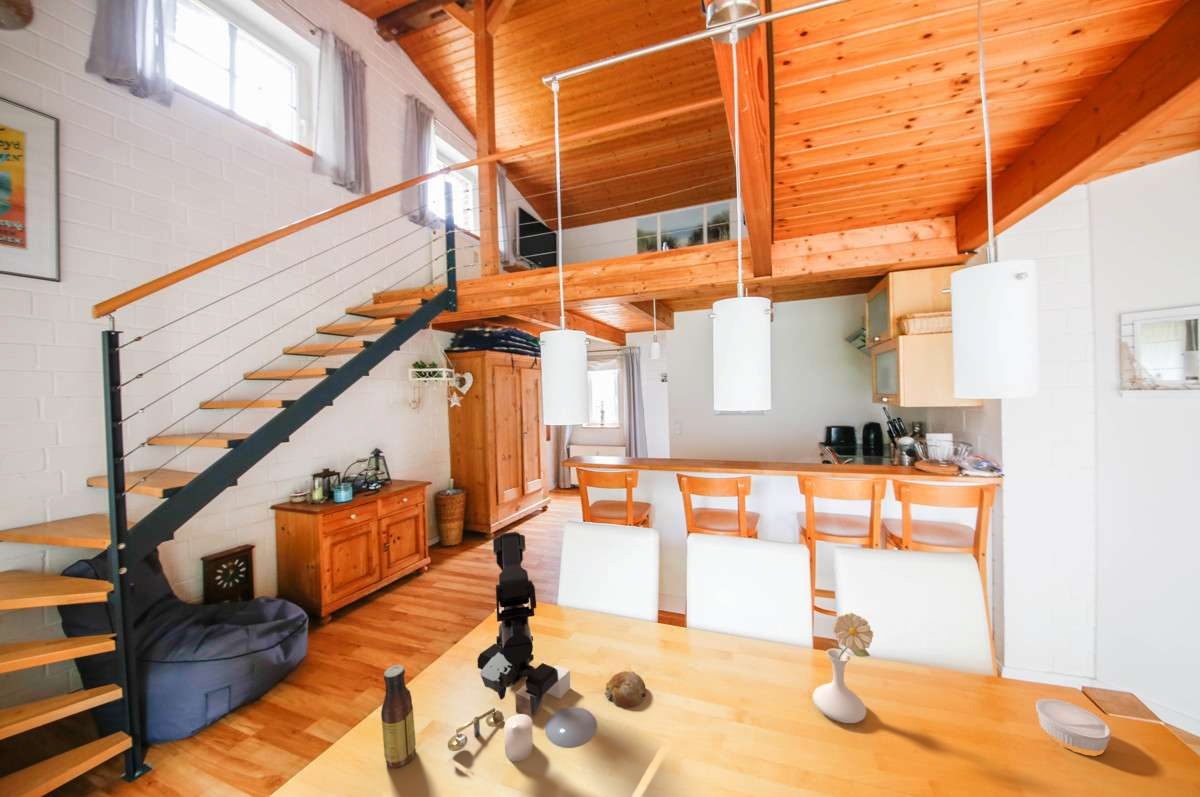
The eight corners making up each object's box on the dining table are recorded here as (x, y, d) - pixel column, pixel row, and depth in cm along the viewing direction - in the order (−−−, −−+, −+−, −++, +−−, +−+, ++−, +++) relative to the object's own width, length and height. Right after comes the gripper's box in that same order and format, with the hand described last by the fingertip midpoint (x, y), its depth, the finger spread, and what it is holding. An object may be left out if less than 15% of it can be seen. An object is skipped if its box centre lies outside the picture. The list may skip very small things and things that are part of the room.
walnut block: (516, 717, 106) (515, 692, 106) (528, 705, 110) (527, 682, 110) (530, 724, 104) (529, 699, 103) (542, 712, 107) (541, 688, 107)
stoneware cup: (498, 759, 94) (497, 728, 94) (518, 738, 100) (517, 709, 99) (520, 772, 91) (519, 740, 90) (540, 750, 96) (539, 720, 96)
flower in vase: (806, 712, 105) (804, 610, 104) (820, 687, 113) (819, 592, 113) (868, 741, 96) (867, 630, 95) (879, 712, 105) (878, 609, 104)
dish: (534, 738, 99) (534, 733, 99) (566, 705, 109) (565, 700, 109) (577, 761, 93) (577, 756, 93) (606, 724, 103) (606, 719, 103)
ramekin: (1100, 770, 88) (1100, 745, 88) (1026, 732, 98) (1026, 709, 98) (1118, 748, 93) (1119, 724, 93) (1047, 713, 103) (1047, 691, 103)
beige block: (546, 697, 113) (545, 674, 112) (556, 686, 116) (556, 664, 116) (559, 703, 110) (559, 680, 110) (570, 692, 114) (569, 670, 114)
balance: (494, 715, 107) (494, 690, 106) (506, 721, 104) (506, 696, 104) (444, 760, 94) (443, 732, 94) (456, 768, 92) (455, 740, 92)
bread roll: (636, 729, 106) (649, 701, 105) (598, 706, 108) (611, 679, 107) (640, 700, 116) (653, 674, 115) (606, 679, 117) (617, 654, 116)
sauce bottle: (407, 741, 100) (404, 655, 99) (421, 755, 96) (418, 666, 95) (378, 760, 94) (374, 671, 94) (391, 776, 91) (387, 683, 90)
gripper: (456, 641, 92) (459, 713, 93) (522, 670, 82) (524, 751, 83) (495, 617, 102) (497, 683, 102) (558, 640, 92) (560, 713, 92)
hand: (517, 706), depth 95 cm, fingers open, 9 cm apart
